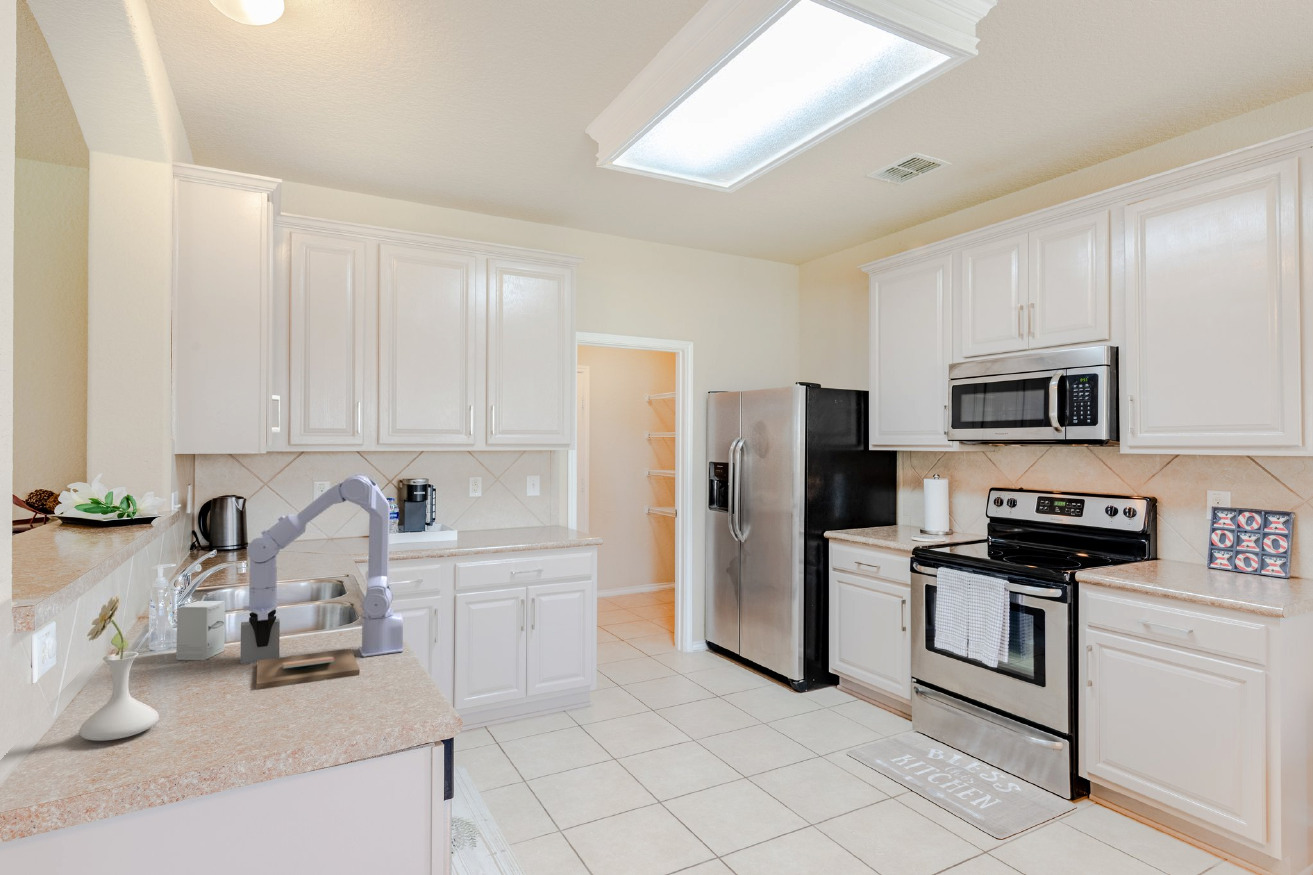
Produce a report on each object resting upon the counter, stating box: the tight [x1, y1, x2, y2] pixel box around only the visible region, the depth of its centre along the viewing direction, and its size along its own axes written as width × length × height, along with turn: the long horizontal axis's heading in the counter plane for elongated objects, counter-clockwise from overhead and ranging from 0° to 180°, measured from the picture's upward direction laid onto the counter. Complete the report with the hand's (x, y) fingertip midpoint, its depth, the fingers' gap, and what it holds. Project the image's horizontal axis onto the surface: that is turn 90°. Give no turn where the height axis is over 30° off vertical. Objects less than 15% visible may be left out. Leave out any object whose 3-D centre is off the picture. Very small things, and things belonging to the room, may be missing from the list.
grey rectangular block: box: [240, 617, 281, 665], centre depth 168 cm, size 8×4×9 cm, turn 119°
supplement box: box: [175, 600, 226, 661], centre depth 171 cm, size 7×7×13 cm
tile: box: [283, 657, 334, 669], centre depth 158 cm, size 10×8×1 cm
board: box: [256, 648, 361, 690], centre depth 160 cm, size 20×18×1 cm
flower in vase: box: [78, 595, 160, 742], centre depth 124 cm, size 13×11×25 cm
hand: (262, 643), depth 168 cm, fingers open, 4 cm apart
